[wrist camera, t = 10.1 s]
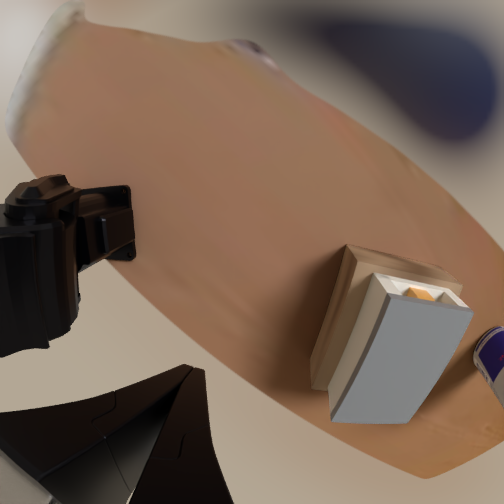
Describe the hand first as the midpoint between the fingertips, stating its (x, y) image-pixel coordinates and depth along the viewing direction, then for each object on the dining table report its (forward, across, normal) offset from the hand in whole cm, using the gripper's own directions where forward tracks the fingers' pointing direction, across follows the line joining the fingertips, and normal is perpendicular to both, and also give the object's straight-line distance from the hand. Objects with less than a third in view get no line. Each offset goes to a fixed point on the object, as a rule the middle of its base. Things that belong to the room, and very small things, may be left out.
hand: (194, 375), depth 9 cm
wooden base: (+13, +12, -2) cm, 18 cm away
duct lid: (+6, +12, -2) cm, 13 cm away
